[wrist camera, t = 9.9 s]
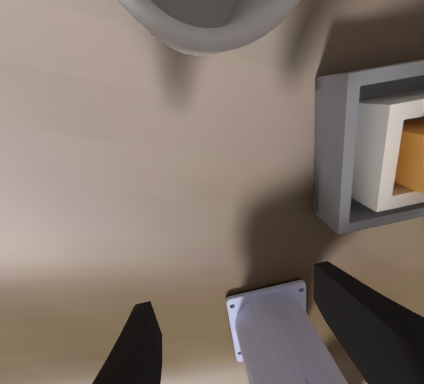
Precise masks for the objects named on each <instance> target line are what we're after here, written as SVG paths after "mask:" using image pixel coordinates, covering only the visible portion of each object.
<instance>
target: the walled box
mask: <svg viewBox="0 0 424 384" xmlns="http://www.w3.org/2000/svg"><path fill="white" fill-rule="evenodd" d="M411 118H424V58H423V59H418V60H412V61H406V62H400V63H394V64H389V65H383V66H377V67H371V68H365V69H359V70H354V71H348V72H342V73H336V74H330V75H324V76H319V77H316V93H315V165H314V214H315V215H316V216H317V217H318V218H319V219H321V220H322V221H323V222H324V223H325V224H326V225H327V226H329V227H330V228H331V229H332V230H333V231H334V232H335V233H337V234H338V235H340V234H345V233H349V232H354V231H359V230H363V229H368V228H372V227H377V226H381V225H386V224H390V223H395V222H400V221H404V220H409V219H413V218H418V217H422V216H424V194H422V193H420V192H417V191H415V190H412V189H410V188H407V187H405V186H403V185H400V184H398V183H395V182H394V180H395V174H396V167H397V161H398V154H399V148H400V141H401V135H402V129H403V122H404V120H406V119H411Z"/></svg>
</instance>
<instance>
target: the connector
mask: <svg viewBox="0 0 424 384" xmlns="http://www.w3.org/2000/svg"><path fill="white" fill-rule="evenodd" d="M394 182H395V183H398V184H400V185H403V186H405V187H407V188H410V189H412V190H415V191H417V192H420V193H422V194H424V118H411V119H406V120H404V122H403V129H402V135H401V141H400V148H399V154H398V161H397V167H396V174H395V180H394Z"/></svg>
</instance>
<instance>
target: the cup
mask: <svg viewBox="0 0 424 384" xmlns="http://www.w3.org/2000/svg"><path fill="white" fill-rule="evenodd" d="M299 1H300V0H119V2H120V3H121V4H122V5H123V6H124V8H125V9H126V10H127V11H128V12H129V13H130V14H131V15H132V16H133V17H134V18H135V19H136V20H137V21H138V22H139V23H141V24H142V25H143V26H144V27H145V28H146V29H147V30H148V31H149V32H150V33H152V34H153V35H154V36H155V37H156V38H157V39H158V40H159V41H161V42H162V43H163V44H165V45H166V46H168V47H169V48H171V49H173V50H175V51H178V52H180V53H183V54H188V55H195V56H202V55H209V54H214V53H219V52H223V51H228V50H232V49H236V48H240V47H243V46H245V45H248V44H250V43H252V42H254V41H256V40H258V39H260V38H261V37H263V36H265V35H266V34H267V33H269V32H270V31H272V30H273V29H274V28H275V27H277V26H278V25H279V24H280V23H281V22H282V21H283V20H284V19H285V18H286V17H287V16H288V15H289V14H290V13H291V11H292V10H293V9H294V8H295V7H296V5H297V4H298V2H299Z"/></svg>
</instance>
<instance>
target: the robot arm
mask: <svg viewBox="0 0 424 384" xmlns="http://www.w3.org/2000/svg"><path fill="white" fill-rule="evenodd" d="M314 300H315V302H316V304H317V306H318V308H319V310H320V312H321V314H322V316H323V317H324V319H325V321H326V323H327V324H328V326H329V327H330V329H331V330H332V332H333V333H334V335H335V336H336V338H337V339H338V341H339V342H340V343H341V345H342V346H343V348H344V349H345V351H346V352H347V354H348V355H349V357H350V358H351V360H352V361H353V362H354V364H355V365H356V367H357V368H358V370H359V371H360V373H361V374H362V376H363V377H364V379H365V380H366V382H367V383H368V384H424V317H422V316H420V315H418V314H416V313H414V312H412V311H410V310H409V309H407V308H405V307H403V306H401V305H399V304H398V303H396V302H394V301H392V300H390V299H389V298H387V297H385V296H383V295H382V294H380V293H378V292H377V291H375V290H373V289H372V288H370V287H368V286H367V285H365V284H363V283H362V282H360V281H358V280H357V279H355V278H354V277H352V276H350V275H349V274H347V273H346V272H344V271H342V270H341V269H339V268H338V267H336V266H334V265H333V264H331V263H330V262H328V261H326V262H321V263H317V264H314ZM226 304H227V310H228V316H229V321H230V327H231V332H232V338H233V343H234V349H235V355H236V359H237V361H238V362H242V361H243V362H244V366H245V370H246V374H247V378H248V382H249V384H348V383H347V381H346V379H345V378H344V376H343V374H342V373H341V371H340V369H339V368H338V366H337V364H336V363H335V361H334V359H333V357H332V356H331V354H330V352H329V351H328V349H327V347H326V346H325V344H324V342H323V341H322V339H321V337H320V336H319V334H318V332H317V330H316V329H315V327H314V325H313V324H312V322H311V320H310V319H309V317H308V315H307V314H306V283H305V282H304V281H303V280H298V281H293V282H289V283H284V284H280V285H276V286H271V287H267V288H263V289H258V290H254V291H250V292H245V293H241V294H237V295H232V296H229V297H227V299H226ZM232 304H233V305H232ZM161 370H162V333H161V331H160V328H159V325H158V322H157V319H156V316H155V313H154V310H153V308H152V305H151V302H150V301H149V302H145V303H140V304H136V305H135V306H134V308H133V310H132V312H131V314H130V316H129V318H128V320H127V322H126V324H125V326H124V328H123V330H122V332H121V334H120V336H119V338H118V340H117V341H116V343H115V345H114V347H113V349H112V351H111V352H110V354H109V356H108V358H107V360H106V361H105V363H104V365H103V367H102V368H101V370H100V372H99V373H98V375H97V377H96V378H95V380H94V382H93V383H92V384H160V381H161Z"/></svg>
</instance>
